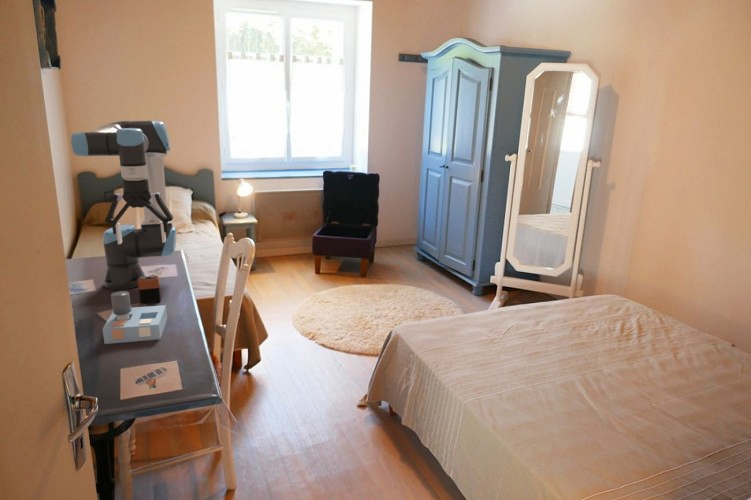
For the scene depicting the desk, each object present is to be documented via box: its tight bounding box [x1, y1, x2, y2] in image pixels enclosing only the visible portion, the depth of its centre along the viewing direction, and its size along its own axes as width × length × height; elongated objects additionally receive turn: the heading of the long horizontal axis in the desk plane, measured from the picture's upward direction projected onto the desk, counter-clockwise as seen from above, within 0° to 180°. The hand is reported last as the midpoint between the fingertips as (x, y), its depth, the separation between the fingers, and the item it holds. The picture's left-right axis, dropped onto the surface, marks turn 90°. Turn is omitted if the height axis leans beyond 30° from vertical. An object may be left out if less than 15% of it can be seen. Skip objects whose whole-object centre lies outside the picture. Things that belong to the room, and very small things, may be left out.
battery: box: [137, 274, 162, 305], centre depth 191 cm, size 4×7×10 cm, turn 111°
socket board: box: [102, 304, 168, 345], centre depth 167 cm, size 16×16×5 cm
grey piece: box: [110, 290, 132, 321], centre depth 165 cm, size 5×5×12 cm
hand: (142, 242), depth 171 cm, fingers open, 13 cm apart
